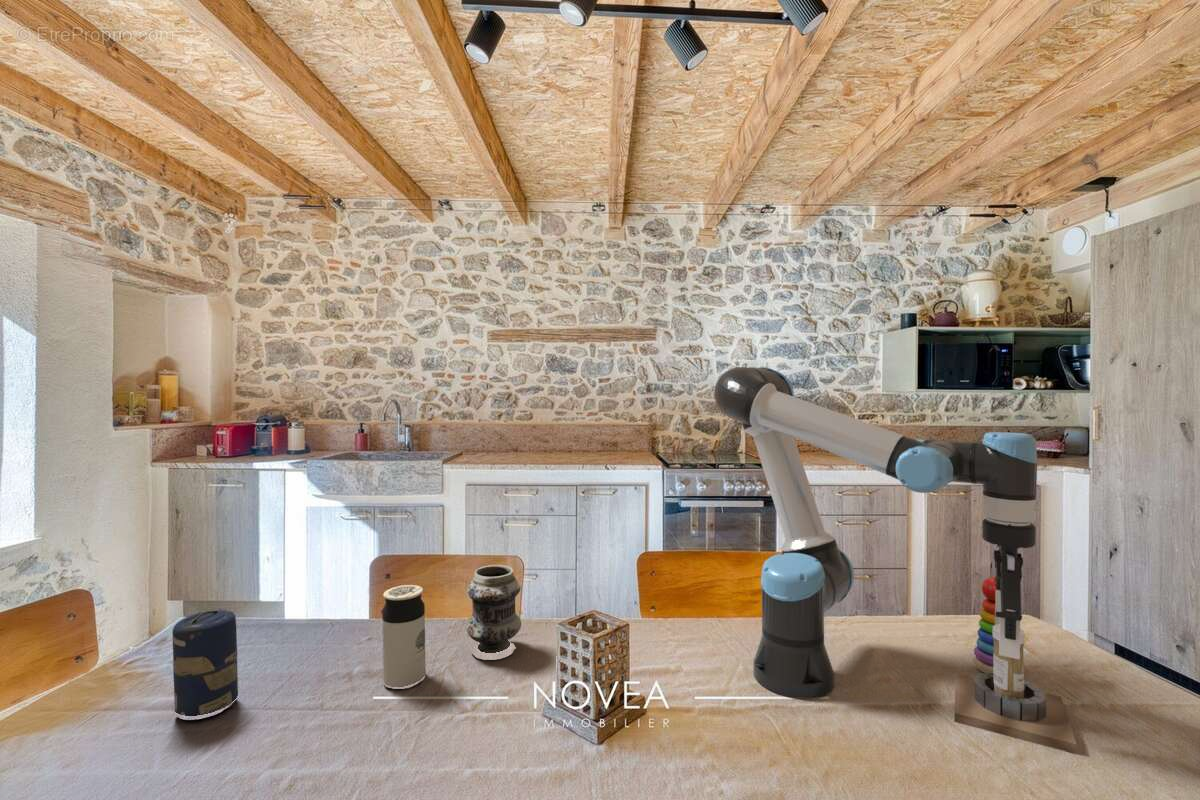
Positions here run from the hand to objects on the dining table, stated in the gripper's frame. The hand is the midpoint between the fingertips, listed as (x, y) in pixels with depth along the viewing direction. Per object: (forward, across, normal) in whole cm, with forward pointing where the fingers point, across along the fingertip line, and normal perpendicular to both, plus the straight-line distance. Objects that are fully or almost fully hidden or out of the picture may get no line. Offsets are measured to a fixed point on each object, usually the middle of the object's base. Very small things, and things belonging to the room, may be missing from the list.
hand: (1006, 640), depth 97 cm
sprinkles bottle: (+11, 0, 0) cm, 11 cm away
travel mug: (+14, -50, +100) cm, 112 cm away
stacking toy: (+13, +17, 0) cm, 21 cm away
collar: (+11, 0, 0) cm, 11 cm away
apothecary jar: (+14, -31, +93) cm, 99 cm away
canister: (+15, -76, +121) cm, 144 cm away
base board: (+13, 0, 0) cm, 13 cm away
